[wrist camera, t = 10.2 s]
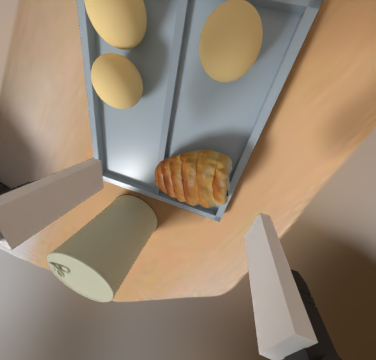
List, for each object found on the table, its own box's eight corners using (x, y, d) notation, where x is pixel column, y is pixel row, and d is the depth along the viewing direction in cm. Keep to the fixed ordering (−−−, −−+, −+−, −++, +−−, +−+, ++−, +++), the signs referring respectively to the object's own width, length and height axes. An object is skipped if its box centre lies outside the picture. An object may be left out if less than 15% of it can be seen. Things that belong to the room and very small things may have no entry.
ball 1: (113, 50, 16) (72, 32, 12) (111, -15, 13) (60, -66, 9) (153, 60, 15) (125, 45, 11) (158, -7, 13) (125, -56, 9)
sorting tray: (103, 173, 24) (95, 177, 23) (87, -34, 14) (71, -49, 12) (220, 214, 22) (219, 222, 21) (315, 5, 11) (327, -9, 10)
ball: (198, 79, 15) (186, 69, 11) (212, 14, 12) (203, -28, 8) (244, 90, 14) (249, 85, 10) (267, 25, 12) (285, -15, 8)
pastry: (163, 194, 21) (150, 209, 18) (155, 147, 19) (137, 156, 15) (231, 199, 19) (229, 219, 15) (233, 146, 16) (232, 156, 13)
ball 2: (114, 103, 18) (81, 102, 14) (113, 55, 16) (73, 39, 12) (148, 112, 17) (124, 115, 14) (152, 65, 15) (125, 51, 11)
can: (114, 186, 25) (33, 243, 15) (163, 209, 25) (114, 285, 14) (111, 221, 30) (47, 283, 20) (151, 241, 29) (108, 315, 19)
